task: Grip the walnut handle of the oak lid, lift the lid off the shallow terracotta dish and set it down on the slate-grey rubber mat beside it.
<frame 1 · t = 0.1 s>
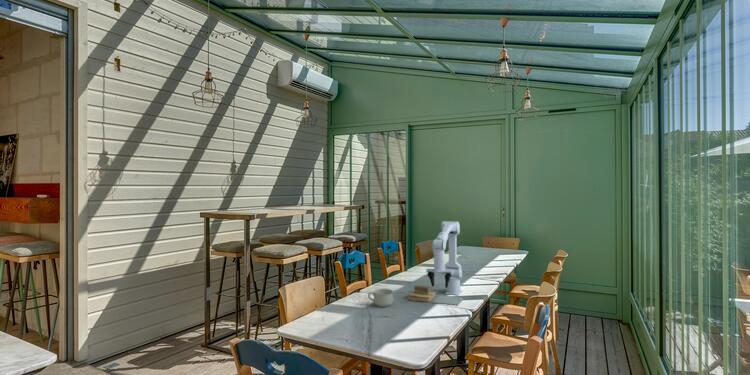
hand: (439, 286, 213), 10 cm above the table, tool pointing down, fingers open, 7 cm apart
terracotta dish: (421, 298, 227), on the table
oak lid: (421, 294, 227), point 2 cm above the table, touching terracotta dish
rubber mat: (448, 301, 220), on the table
teacup: (380, 305, 214), on the table
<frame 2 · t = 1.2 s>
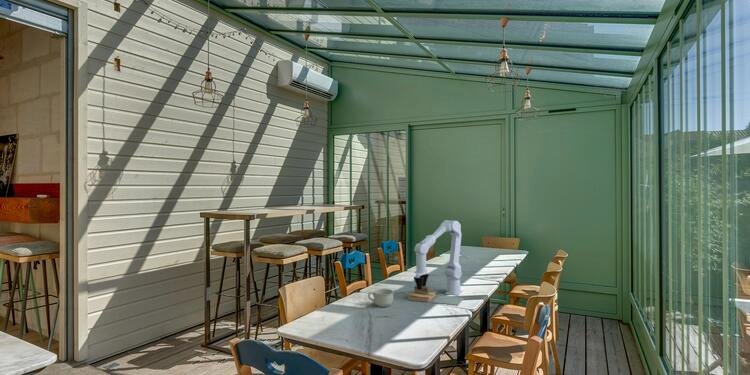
hand: (421, 288, 227), 6 cm above the table, tool pointing down, fingers open, 7 cm apart
nothing on the table moved.
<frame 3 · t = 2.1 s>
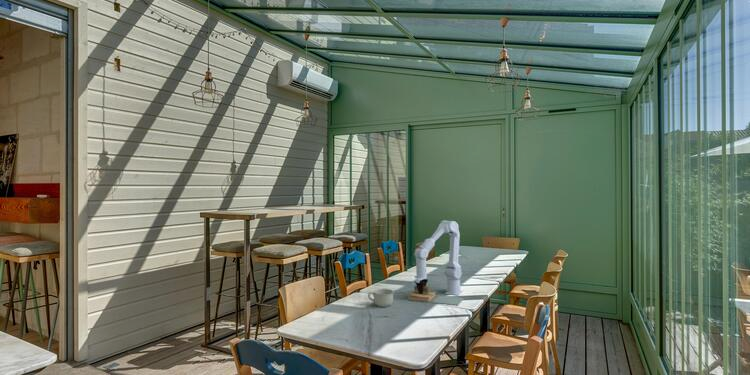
hand: (421, 292, 227), 3 cm above the table, tool pointing down, fingers closed on oak lid, 3 cm apart
oak lid: (421, 294, 227), point 2 cm above the table, touching gripper, terracotta dish
everything else where it was.
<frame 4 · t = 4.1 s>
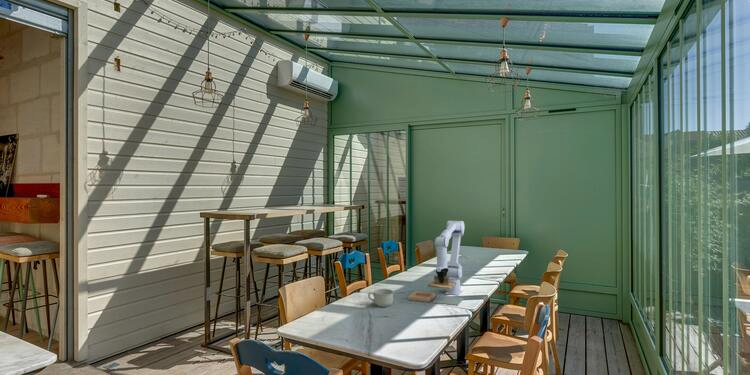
hand: (442, 282, 222), 10 cm above the table, tool pointing down, fingers closed on oak lid, 3 cm apart
oak lid: (441, 285, 222), point 9 cm above the table, touching gripper
everything else where it was.
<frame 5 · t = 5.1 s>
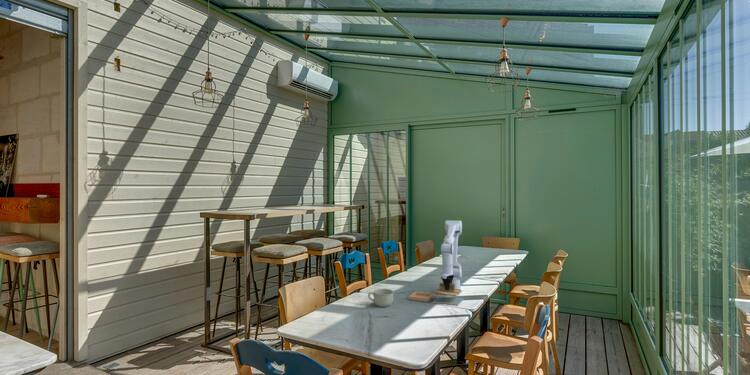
hand: (447, 289, 220), 7 cm above the table, tool pointing down, fingers closed on oak lid, 3 cm apart
oak lid: (447, 292, 221), point 5 cm above the table, touching gripper
everything else where it was.
when the fingers open (4 cm above the table, at t = 6.0 s): oak lid drops 1 cm, resting on rubber mat.
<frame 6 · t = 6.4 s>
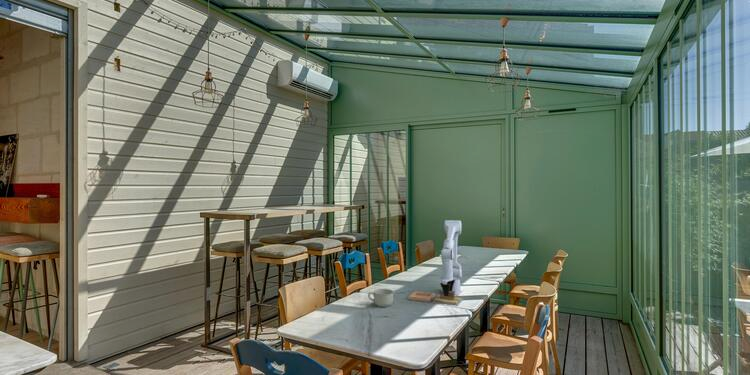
hand: (448, 294, 220), 4 cm above the table, tool pointing down, fingers open, 7 cm apart
oak lid: (447, 300, 221), point 1 cm above the table, touching rubber mat
everything else where it was.
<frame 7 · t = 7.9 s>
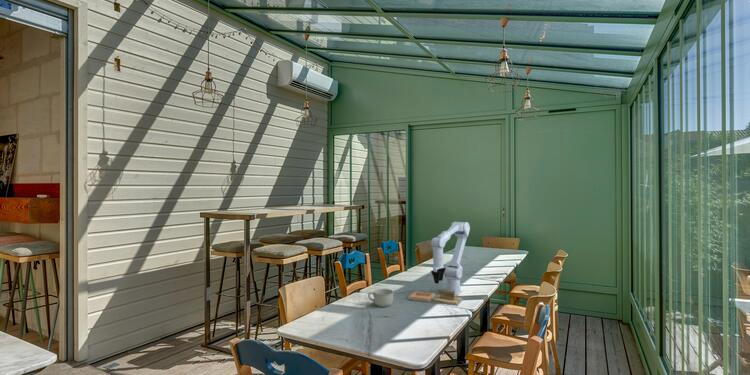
hand: (438, 281, 227), 9 cm above the table, tool pointing down, fingers open, 7 cm apart
nothing on the table moved.
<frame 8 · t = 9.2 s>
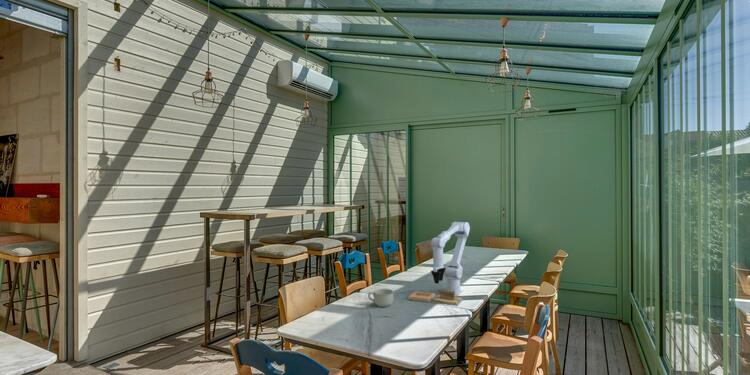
hand: (438, 281, 227), 9 cm above the table, tool pointing down, fingers open, 7 cm apart
nothing on the table moved.
at the end: oak lid inside the target area on the rubber mat (0.5 cm from its centre), point 0.6 cm above the rubber mat's base; oak lid touching rubber mat; the gripper is holding nothing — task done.
